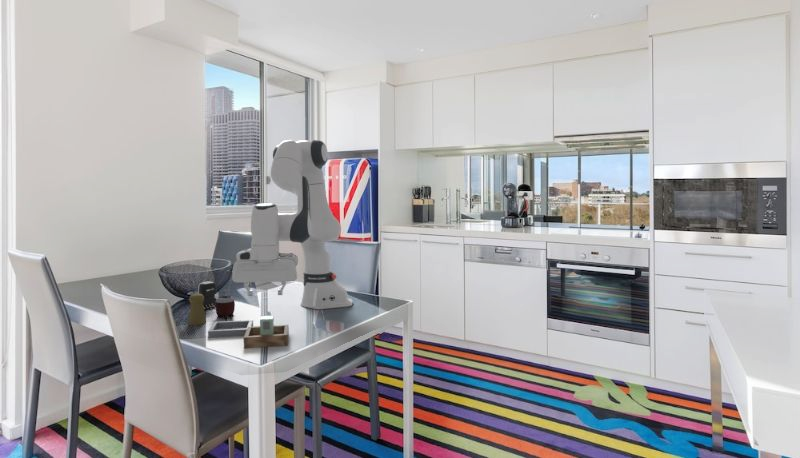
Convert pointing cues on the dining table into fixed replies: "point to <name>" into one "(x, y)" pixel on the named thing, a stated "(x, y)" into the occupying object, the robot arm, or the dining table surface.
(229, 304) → the mate gourd
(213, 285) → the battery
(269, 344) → the shallow wooden tray
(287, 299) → the dining table surface
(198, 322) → the olive waisted shaker
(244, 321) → the shallow grey tray
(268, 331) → the plug
